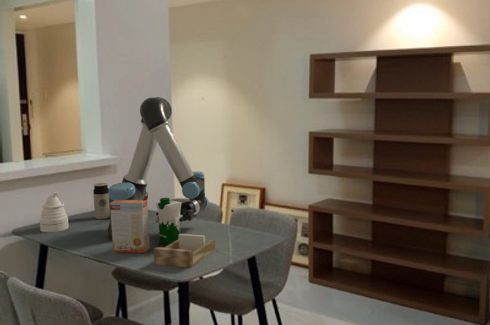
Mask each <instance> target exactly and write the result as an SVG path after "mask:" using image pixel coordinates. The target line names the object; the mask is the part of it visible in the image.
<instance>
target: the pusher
mask: <svg viewBox="0 0 490 325" xmlns="http://www.w3.org/2000/svg"><path fill="white" fill-rule="evenodd" d="M204 244H206V235H202V234H200V235H199V234H188V233H181V234H179V249H184V250H192V253H193V252H194V251H196V250H197V249H199V248H200V247H201V246H203V245H204Z"/></svg>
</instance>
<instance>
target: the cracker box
mask: <svg viewBox="0 0 490 325" xmlns="http://www.w3.org/2000/svg"><path fill="white" fill-rule="evenodd" d="M148 206H149V205H148V199H147V200H115V201H113V202H111V203H110V208H111V224H112V239H111V240H112V250H113V252H114V253H129V254H130V253H131V254H132V253H133V254H134V253H135V254H145V253H147V252H148V251H149V250H151V241H150V238H151V237H150V224H149V221H150V220H149V207H148Z"/></svg>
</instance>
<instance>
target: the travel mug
mask: <svg viewBox="0 0 490 325" xmlns="http://www.w3.org/2000/svg"><path fill="white" fill-rule="evenodd" d="M108 185H109V183H108V182H97V183H93V188H94V189H93V190H92V192H93V194H92V195H93V207H94V218H95V219H98V220H106V219H110V208H109V196H108V193H109V187H108Z"/></svg>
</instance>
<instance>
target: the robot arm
mask: <svg viewBox="0 0 490 325" xmlns="http://www.w3.org/2000/svg"><path fill="white" fill-rule="evenodd" d="M172 113H173V108H172V105H171V103H170V102H169V101H168V100H167V99H165V98H163V97H160V96H155V97H154V96H153V97H149V98H145V100H143V101H142V103H141V105H140V107H139V114H140V117H141V120H140V123H141V126H142V127H141V131H140V134H139V137H138V140H137V144H136V147H135V150H134V154H133V157H132V160H131V163H130V167H129V168H128V172H127V173H125V174H124V175H123V177H122V179H121V180H122V181H121V182H117V183H114V184H112V185H111V186H109V187H108V189H109V193H108V196H109V208H110V203H111V202H113V201H115V200H144V198H145V195H146V192H147V186H148V180H147V175H148V173H149V169H150V166H151V163H152V160H153V158H154V157H153V156H154V153H155V150H156V148H157V147H156V146H157V144H158V145H159V148H160V149H161V151H162V153H163V155H164V157H165V158H166V160H167V163H168V164H169V166H170V168H171V170H172V171H173V174H174V176H175V177H176V179H177V181H178V183H179V185H180V186H181V193H182V195H183V197H185V198H186V199H187V200H185V201H183V202H182V203H181V209H180V216H178V217H176V218H174V225H177V224H179V223H183V222H186V221H188V222H191V221H192V220H193V219H194V218H195V217H196V216H197V214H199V213H202V212H204V211H205V210H206V209H207V208H208V206H209V199H208V197H207V196H206V192H205V191H206V190H205V188H206V186H205V183H206V182H205V181H206V180H205V179H206V178H205V173H204V172H203V171H193V170H192V168H191V167H190V166H191V165H190V164H189V163H188V160H187V159H186V157H185V155H184V152H183V150H182V149H181V147H180V146H179V144H178V141H177V139H176V138H175V136H174V133H173V132H172V130H171V129H170V127H169V122H170V121H169V119H170V118H171V116H172ZM152 220H153V221H152V222H153V224H154V225H155V224H157V223H159V216H158V211H157V212H155V216H153V217H152ZM106 237H107V238H108V239H110V240H112V224H111V208H110V217H109V224H108V226H107V231H106Z"/></svg>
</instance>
